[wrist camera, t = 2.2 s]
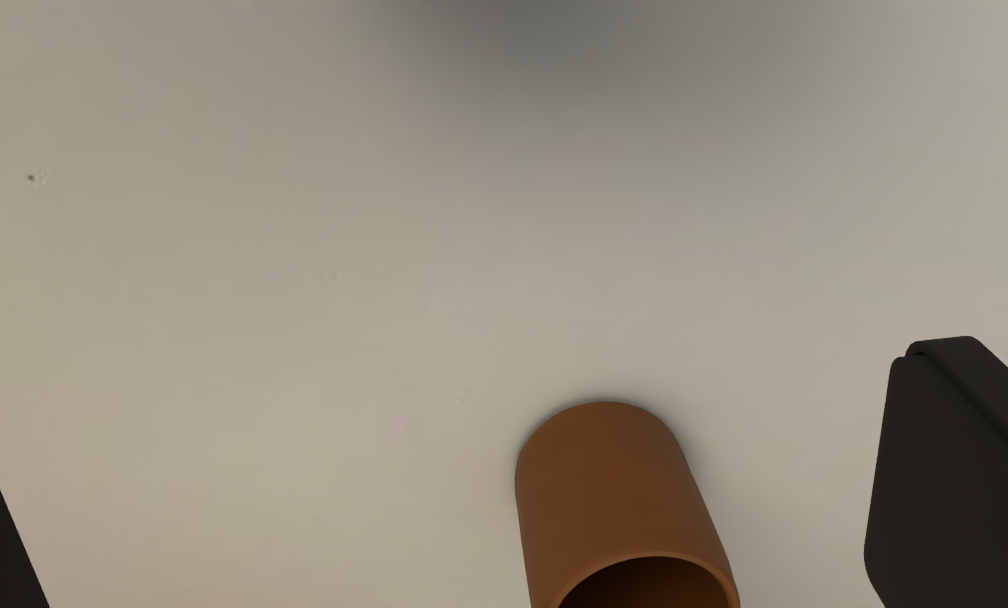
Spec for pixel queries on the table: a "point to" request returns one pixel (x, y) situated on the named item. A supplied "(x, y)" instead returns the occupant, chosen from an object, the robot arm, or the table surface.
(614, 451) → the mug
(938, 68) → the table surface
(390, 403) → the table surface
